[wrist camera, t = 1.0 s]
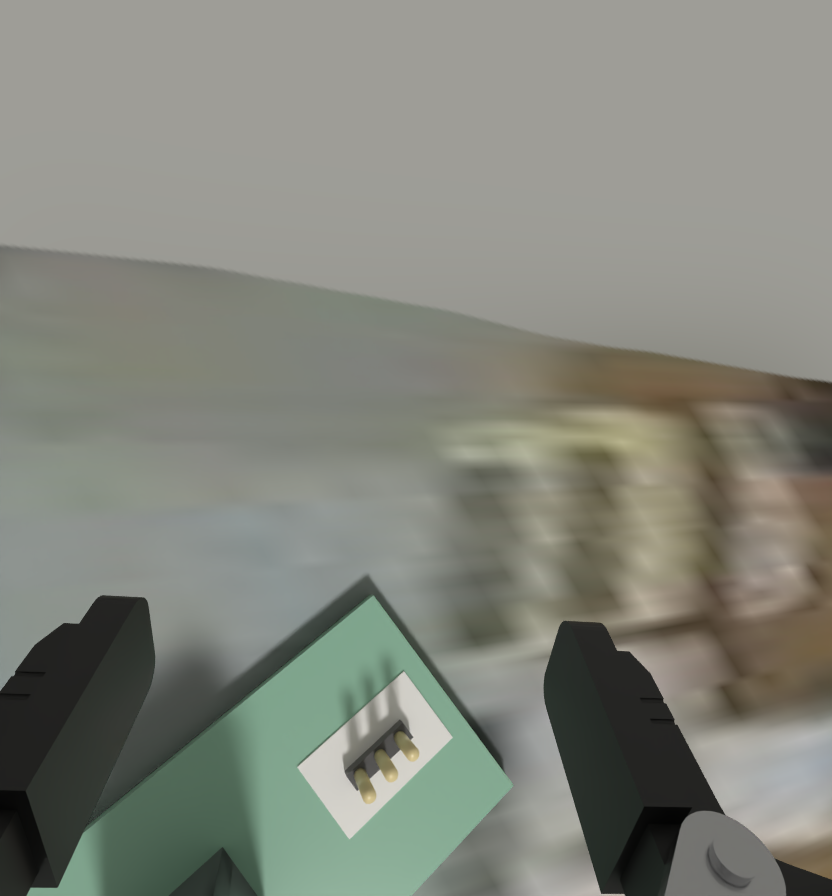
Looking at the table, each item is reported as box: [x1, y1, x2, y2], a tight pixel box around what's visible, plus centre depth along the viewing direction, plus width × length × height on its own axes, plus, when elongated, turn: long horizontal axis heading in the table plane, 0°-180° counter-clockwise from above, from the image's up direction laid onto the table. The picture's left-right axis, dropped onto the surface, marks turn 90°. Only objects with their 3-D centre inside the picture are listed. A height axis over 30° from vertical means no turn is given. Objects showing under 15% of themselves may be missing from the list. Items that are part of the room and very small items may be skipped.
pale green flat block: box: [27, 595, 514, 896], centre depth 28 cm, size 22×14×5 cm, turn 129°
